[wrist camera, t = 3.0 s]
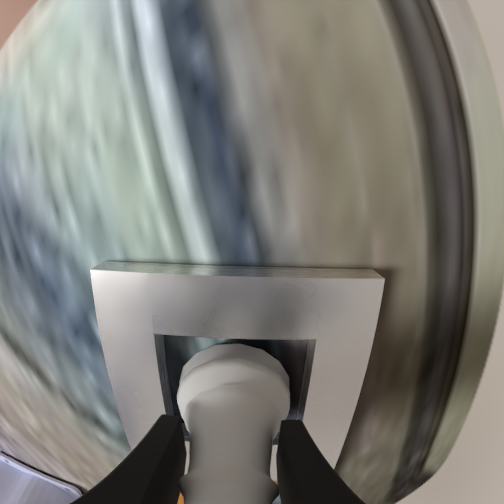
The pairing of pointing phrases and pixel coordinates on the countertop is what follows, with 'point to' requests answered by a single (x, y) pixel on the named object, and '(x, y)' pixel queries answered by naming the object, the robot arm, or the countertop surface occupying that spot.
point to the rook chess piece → (231, 424)
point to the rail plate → (238, 334)
